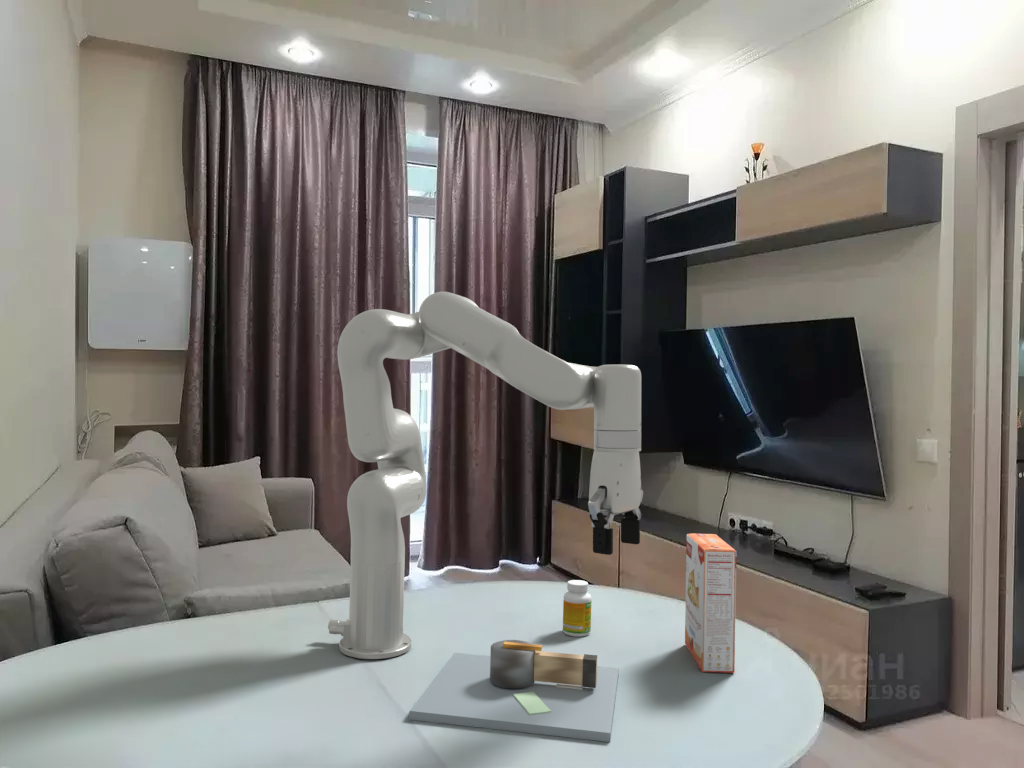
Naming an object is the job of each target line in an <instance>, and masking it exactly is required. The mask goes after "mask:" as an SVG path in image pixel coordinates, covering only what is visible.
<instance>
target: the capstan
mask: <svg viewBox="0 0 1024 768" xmlns="http://www.w3.org/2000/svg"><path fill="white" fill-rule="evenodd" d="M489 656H490V681H491V683H493V684H494V685H496V686H499V687H503V688H510V689H518V688H525V687H528V686H530V685H532V684H533V683H534V682H535V681H541V682H551V683H561V684H571V685H581V686H582V687H589V688H596V683H597V666H598V655H596V654H585V653H584V654H574V653H565V652H564V653H562V652H554V651H553V652H552V651H543V645H542V644H535V643H533V644H532V643H531V642H528V641H524V640H519V639H518V640H516V639H504V640H498V641H495V642H493V643H492V644H491V645H490V655H489Z"/></svg>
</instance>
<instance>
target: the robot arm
mask: <svg viewBox="0 0 1024 768" xmlns="http://www.w3.org/2000/svg"><path fill="white" fill-rule="evenodd" d="M337 343H338V344H337V351H336V352H337V356H336V357H337V363H338V365H337V366H338V371H339V375H340V376H339V377H340V381H341V389H342V397H343V398H342V399H343V408H344V417H345V425H346V426H345V427H346V433H347V434H346V435H347V442H348V447H349V449H350V452H351V454H352V455H353V456H354V458H356V459H357V460H358V461H361V462H364V463H377V469H373V470H370V471H366V472H365V473H363V474H361V475H360V476H358V477H357V478H356V479H355V480H354V481H353V483H352V484H351V486H350V487H349V490H348V492H347V500H346V507H347V508H346V509H347V515H348V521H349V529H350V530H349V531H350V576H349V577H350V578H349V605H348V606H349V608H348V609H349V612H348V613H349V614H348V615H349V617H348V619H346V620H341V619H332V618H331V619H330V620H329V622H328V625H327V629H328V633H329V635H341V637H342V638H341V640H340V641H339V651H340V652H341V653H342V654H344V655H345V656H348V657H351V658H355V659H360V660H361V659H362V660H380V659H381V660H383V659H390V658H394V657H398V656H401V655H403V654H406V653H407V652H408V651H409V650H410V649H411V648H412V639H411V637H410V636H409V635H407V634H405V633H404V608H405V607H404V604H405V602H404V599H405V569H406V568H405V565H406V564H405V563H406V561H405V559H406V557H405V556H406V545H405V536H404V531H403V527H402V520H401V518H404V517H406V516H410V515H412V514H414V513H415V512H417V511H418V510H419V509H420V508H421V507H422V505H423V504H424V501H425V500H426V495H427V476H426V470H425V467H426V466H425V461H424V454H423V453H424V452H423V445H422V436H421V433H420V429H419V426H418V425H417V423H416V421H415V419H414V418H413V417H412V416H411V414H409V413H408V412H407V411H404V410H403V409H399V408H394V404H393V399H392V389H391V382H390V379H389V376H388V374H387V371H386V369H385V367H384V360H385V359H386V358H387V359H394V360H402V361H403V360H414V359H418V358H421V357H425V356H429V355H432V354H435V353H439V352H442V351H445V350H449V349H452V350H454V351H455V352H457V353H459V354H461V355H462V356H464V357H466V358H469V359H470V360H472V361H473V362H475V363H477V364H478V365H480V366H482V367H484V368H485V369H487V370H489V371H490V372H491V373H492V374H494V375H495V376H497V377H499V378H500V379H501V380H503V381H504V382H506V383H508V384H509V385H511V386H512V387H514V388H515V389H516V390H519V391H520V392H522V393H524V394H525V395H527V396H529V397H531V398H533V399H534V400H535V401H536V400H537V401H538V402H539V403H542V404H544V405H545V406H547V407H549V408H552V409H555V410H557V411H559V410H561V411H563V410H564V411H565V410H579V409H587V408H593V455H592V458H591V459H592V460H591V465H590V474H589V475H590V476H589V488H588V489H589V490H588V491H589V493H588V494H589V495H588V502H587V506H588V511H589V518H590V520H591V524H590V525H591V528H592V552H593V553H594V554H600V555H608V556H610V555H613V554H614V553H613V552H614V528H611V526H612V522H613V521H614V518H615V516H619V515H620V514H622V516H623V517H621V518H620V541H621V543H623V544H630V545H631V544H632V545H639V544H640V543H641V518H642V513H641V510H642V507H643V503H642V502H643V498H644V490H643V489H642V477H641V475H642V474H641V473H642V472H641V460H640V452H641V451H642V372H641V369H640V368H639V367H638V366H637V365H633V364H625V363H624V364H622V363H621V364H620V363H619V364H602V365H599V366H589V365H585V364H584V365H583V364H578V363H573V362H567V361H566V360H564V359H561V358H559V357H558V356H556V355H554V354H552V353H550V352H548V351H547V350H545V349H543V348H541V347H539V346H537V345H536V344H534V343H532V342H531V341H529V340H528V339H526V338H524V337H523V336H522V335H521V333H520V331H518V329H517V327H515V325H512V324H511V323H509V322H508V321H505V320H504V319H502V318H500V317H498V316H497V315H494V314H492V313H490V312H488V311H486V310H485V309H483V308H481V307H479V306H478V305H477V303H475V301H473V300H471V299H470V298H468V297H465V296H462V295H459V294H456V293H454V292H453V293H452V292H449V291H437V292H434V293H432V294H430V295H429V296H427V297H426V298H425V299H424V300H423V301H422V303H421V305H420V307H419V309H418V311H416V312H413V313H409V314H407V313H404V312H403V313H401V312H398V311H394V310H389V309H383V308H382V309H381V308H374V309H373V308H372V309H368V310H365V311H362V312H361V313H358V314H357V315H356V316H354V317H352V319H351V320H349V322H348V323H347V324H346V325H345V327H344V328H343V330H342V332H341V334H340V336H339V340H338V342H337ZM605 516H606V517H605Z"/></svg>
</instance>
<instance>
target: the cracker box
mask: <svg viewBox="0 0 1024 768" xmlns="http://www.w3.org/2000/svg"><path fill="white" fill-rule="evenodd" d="M685 545H686V547H685V548H686V549H685V551H686V552H685V553H686V554H685V556H686V557H685V558H686V559H685V567H686V568H685V569H686V570H685V613H684V614H685V617H684V620H685V621H684V622H685V623H684V644H685V646H686V648H687V649H688V651H689V652H690V654H691V656H692V658H693V659H694V661H695V662H696V665H697V666H698V668H699V669H700V672H702V673H722V674H723V673H725V674H726V673H728V674H730V673H732V674H734V673H735V668H736V667H735V661H736V660H735V658H736V656H735V655H736V607H737V606H736V605H737V604H736V603H737V601H736V599H737V598H736V595H737V594H736V593H737V559H738V558H737V557H738V555H737V550H735V548H734V547H733V546H731V545H730V544H728V543H727V542H726V541H725V540H723V539H722V538H721V537H720V536H718V535H717V533H716V534H715V533H698V532H697V533H694V532H693V533H687V534H686V544H685Z"/></svg>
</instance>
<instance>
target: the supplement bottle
mask: <svg viewBox="0 0 1024 768" xmlns="http://www.w3.org/2000/svg"><path fill="white" fill-rule="evenodd" d="M566 588H567V590H568V591H567V592H565V593H564V595H563V601H562V602H563V609H562V633H564V634H565V635H566V636H569V637H570V636H571V637H574V638H575V637H578V638H579V637H582V638H583V637H586V636H589V635H591V630H592V629H591V628H592V627H591V626H592V625H591V624H592V595H591V594H590V593H588V591H589V583H588V581H585V580H581V579H571V580H568V581H567V587H566Z"/></svg>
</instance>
